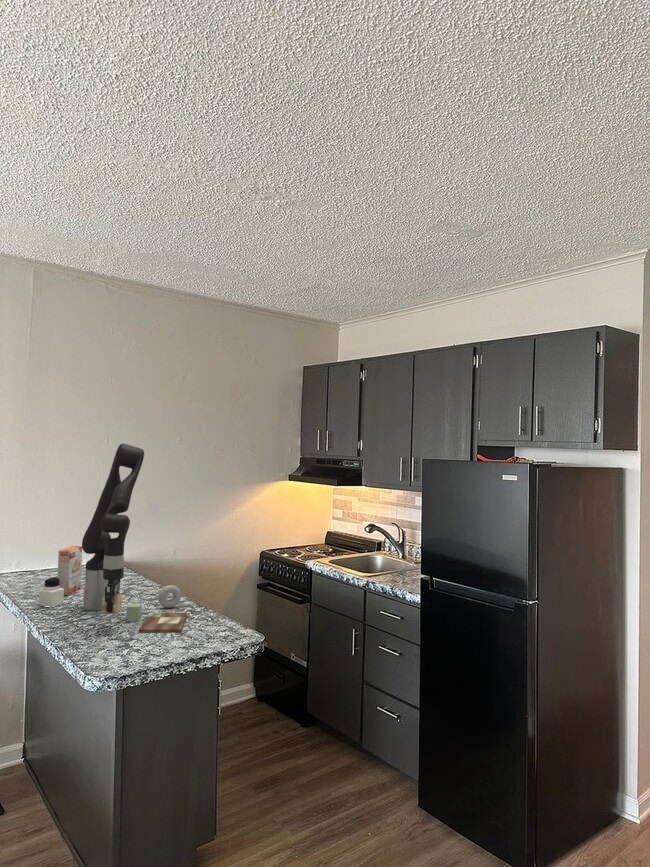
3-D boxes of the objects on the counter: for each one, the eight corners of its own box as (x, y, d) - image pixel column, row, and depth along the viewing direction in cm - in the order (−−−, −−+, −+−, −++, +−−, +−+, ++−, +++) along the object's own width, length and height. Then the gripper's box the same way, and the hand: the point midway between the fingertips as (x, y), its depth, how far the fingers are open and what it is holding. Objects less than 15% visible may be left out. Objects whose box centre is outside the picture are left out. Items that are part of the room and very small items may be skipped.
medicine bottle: (63, 604, 270) (64, 577, 270) (51, 608, 263) (52, 580, 264) (50, 602, 273) (51, 575, 273) (38, 606, 266) (39, 578, 266)
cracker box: (69, 596, 284) (70, 550, 284) (56, 595, 284) (57, 550, 284) (81, 588, 298) (82, 545, 298) (69, 588, 298) (70, 545, 298)
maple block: (101, 613, 234) (102, 597, 234) (105, 608, 240) (106, 593, 240) (117, 613, 234) (118, 598, 234) (121, 609, 240) (122, 593, 240)
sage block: (126, 621, 248) (126, 606, 248) (128, 618, 253) (129, 603, 253) (138, 621, 249) (139, 606, 249) (141, 618, 254) (141, 603, 254)
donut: (158, 610, 265) (159, 587, 265) (156, 608, 268) (157, 585, 268) (181, 607, 270) (182, 584, 270) (179, 605, 273) (180, 583, 273)
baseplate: (138, 632, 234) (138, 629, 235) (148, 615, 256) (148, 612, 256) (181, 632, 236) (181, 628, 236) (187, 615, 258) (187, 612, 258)
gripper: (108, 561, 244) (106, 604, 244) (98, 570, 229) (96, 615, 230) (127, 562, 245) (125, 604, 245) (119, 570, 230) (117, 615, 230)
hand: (111, 609), depth 237 cm, fingers closed on maple block, 6 cm apart
